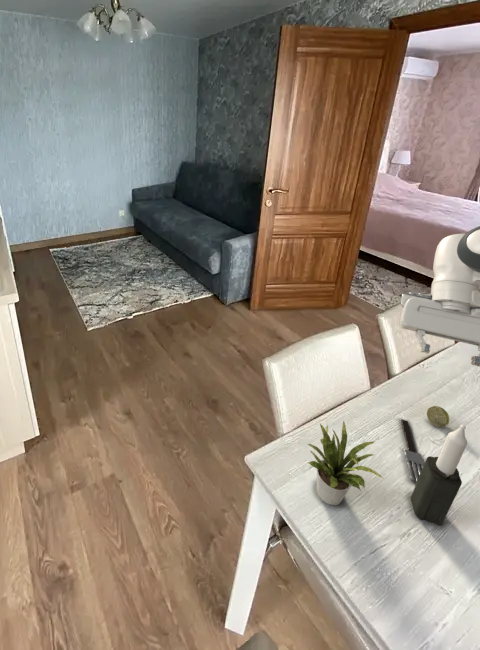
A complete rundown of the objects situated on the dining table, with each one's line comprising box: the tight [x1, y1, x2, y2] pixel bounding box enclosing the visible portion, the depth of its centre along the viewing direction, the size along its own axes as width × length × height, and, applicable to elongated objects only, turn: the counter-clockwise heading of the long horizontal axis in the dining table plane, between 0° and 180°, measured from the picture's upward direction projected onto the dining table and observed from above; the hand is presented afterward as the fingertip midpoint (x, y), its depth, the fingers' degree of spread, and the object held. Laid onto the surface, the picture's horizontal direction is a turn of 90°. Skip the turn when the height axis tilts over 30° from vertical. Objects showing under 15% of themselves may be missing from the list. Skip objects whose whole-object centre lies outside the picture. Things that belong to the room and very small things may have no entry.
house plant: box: [306, 420, 385, 506], centre depth 73 cm, size 14×14×16 cm
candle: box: [410, 424, 468, 526], centre depth 69 cm, size 5×5×25 cm
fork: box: [400, 419, 425, 483], centre depth 86 cm, size 4×18×1 cm, turn 158°
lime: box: [426, 405, 450, 428], centre depth 93 cm, size 4×5×5 cm
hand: (450, 358), depth 76 cm, fingers open, 8 cm apart
